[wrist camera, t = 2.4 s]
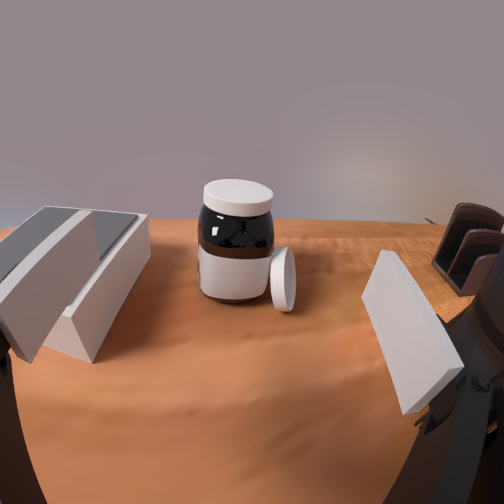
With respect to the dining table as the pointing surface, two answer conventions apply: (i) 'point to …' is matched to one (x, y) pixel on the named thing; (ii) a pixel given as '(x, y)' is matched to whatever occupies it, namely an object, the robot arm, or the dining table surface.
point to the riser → (100, 280)
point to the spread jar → (242, 246)
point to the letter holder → (469, 247)
